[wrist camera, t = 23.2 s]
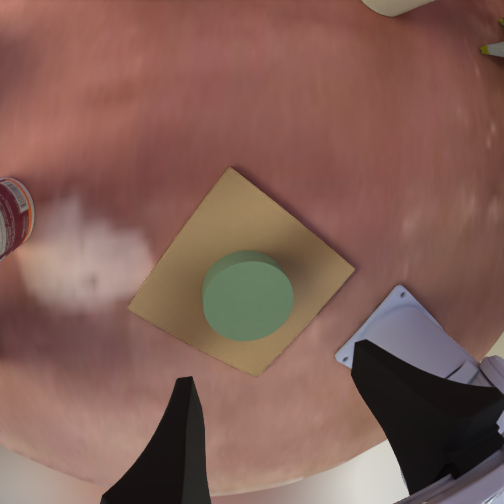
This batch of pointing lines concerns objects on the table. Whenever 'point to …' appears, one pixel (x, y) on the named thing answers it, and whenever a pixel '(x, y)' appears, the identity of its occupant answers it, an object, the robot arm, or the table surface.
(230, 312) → the jar lid
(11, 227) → the pill bottle
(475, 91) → the table surface
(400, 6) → the jar
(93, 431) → the table surface
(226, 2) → the table surface
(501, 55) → the alarm clock
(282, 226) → the plate
